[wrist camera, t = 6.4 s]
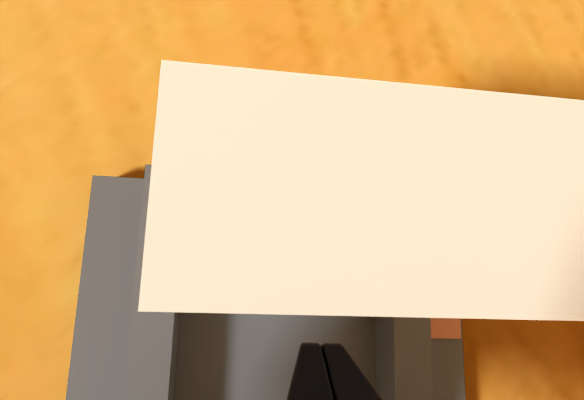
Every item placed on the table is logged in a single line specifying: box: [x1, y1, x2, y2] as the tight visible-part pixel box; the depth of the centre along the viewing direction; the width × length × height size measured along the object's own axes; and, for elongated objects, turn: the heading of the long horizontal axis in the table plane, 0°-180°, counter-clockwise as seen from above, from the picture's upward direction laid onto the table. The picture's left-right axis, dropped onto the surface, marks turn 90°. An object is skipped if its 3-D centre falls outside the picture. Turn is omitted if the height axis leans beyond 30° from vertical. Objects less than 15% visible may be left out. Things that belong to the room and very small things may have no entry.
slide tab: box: [138, 60, 584, 321], centre depth 11 cm, size 3×6×11 cm, turn 88°
